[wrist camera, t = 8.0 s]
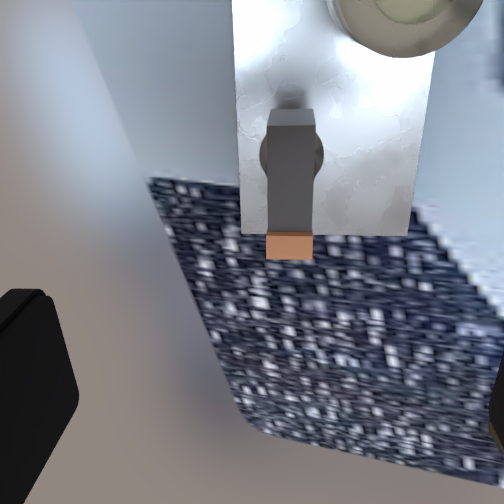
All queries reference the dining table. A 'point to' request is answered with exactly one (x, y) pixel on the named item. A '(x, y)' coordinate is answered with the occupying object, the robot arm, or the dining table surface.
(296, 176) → the knob
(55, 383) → the robot arm
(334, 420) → the dining table surface
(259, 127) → the plate
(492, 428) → the cork
